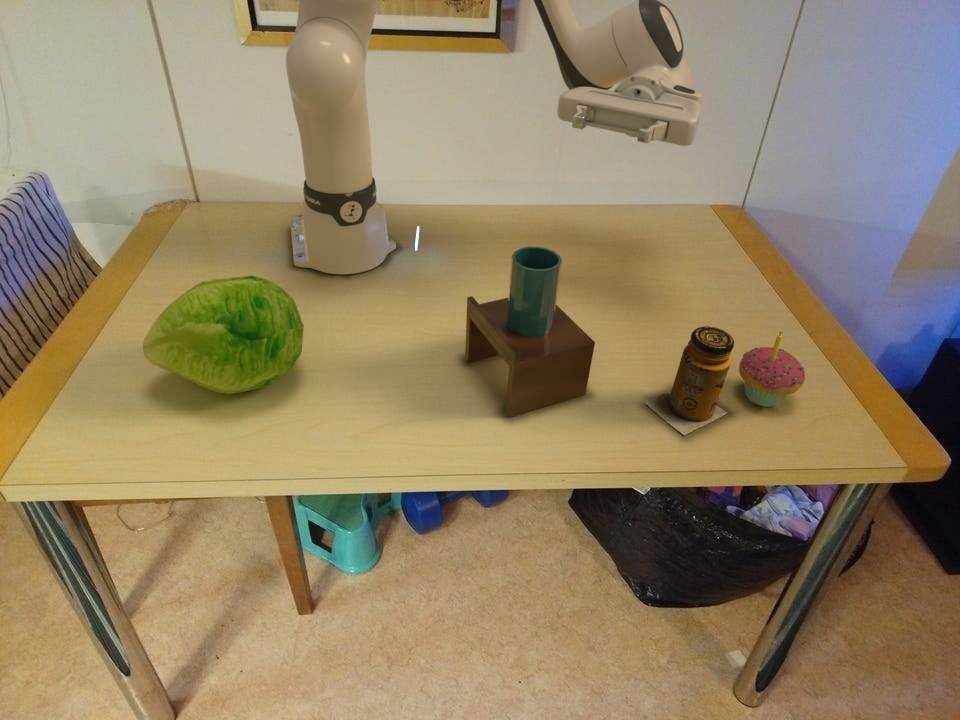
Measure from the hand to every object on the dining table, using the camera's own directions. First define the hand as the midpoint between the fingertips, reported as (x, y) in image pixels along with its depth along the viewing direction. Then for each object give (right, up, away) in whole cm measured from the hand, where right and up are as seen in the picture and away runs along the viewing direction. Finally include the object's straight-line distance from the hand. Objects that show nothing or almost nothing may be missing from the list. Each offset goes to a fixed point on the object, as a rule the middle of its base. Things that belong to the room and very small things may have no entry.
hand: (609, 129), depth 89 cm
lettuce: (-51, -34, +2) cm, 61 cm away
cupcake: (+22, -36, +4) cm, 43 cm away
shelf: (-11, -33, +5) cm, 36 cm away
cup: (-11, -26, -1) cm, 29 cm away
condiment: (+10, -38, +1) cm, 39 cm away
